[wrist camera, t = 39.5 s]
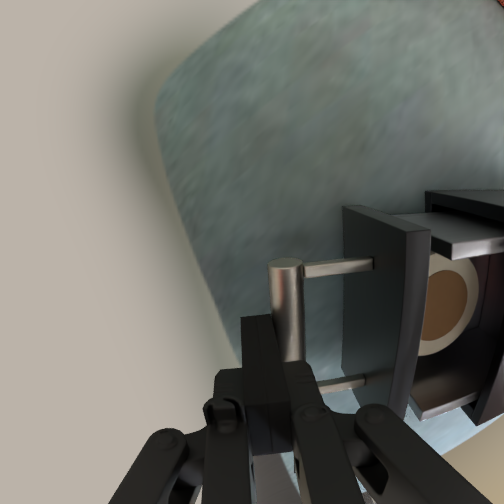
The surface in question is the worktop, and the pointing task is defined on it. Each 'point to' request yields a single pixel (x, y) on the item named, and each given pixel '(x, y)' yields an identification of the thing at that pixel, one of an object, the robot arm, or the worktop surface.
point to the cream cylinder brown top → (448, 302)
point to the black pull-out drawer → (399, 308)
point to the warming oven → (500, 372)
